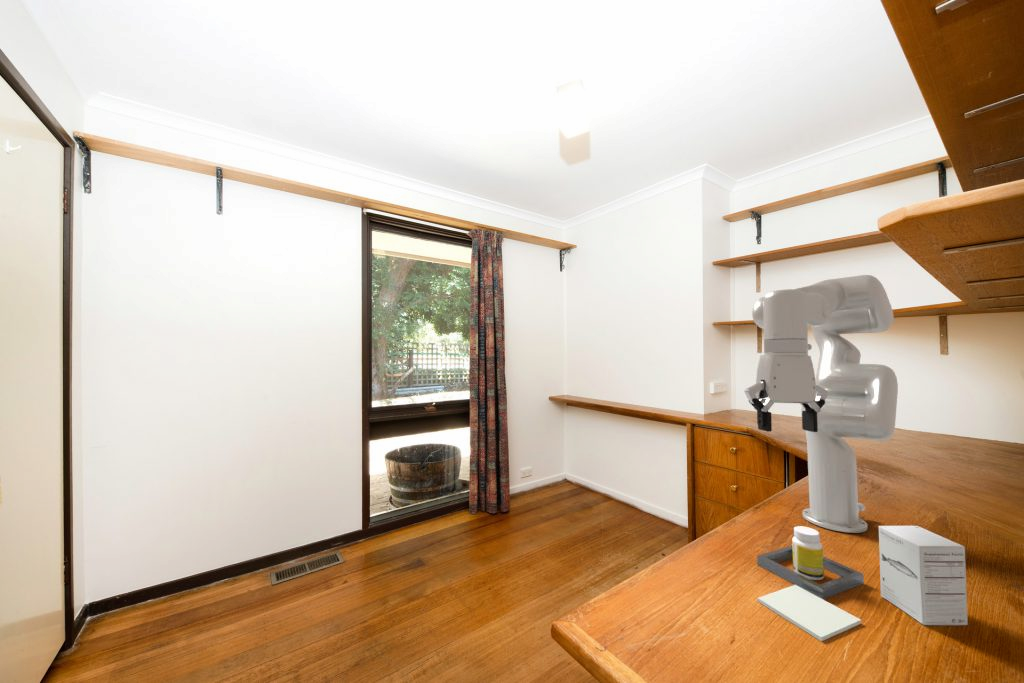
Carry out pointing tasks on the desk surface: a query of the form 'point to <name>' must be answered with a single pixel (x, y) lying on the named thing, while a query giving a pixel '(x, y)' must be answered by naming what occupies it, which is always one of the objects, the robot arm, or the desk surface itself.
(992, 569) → the desk surface
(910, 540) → the supplement box
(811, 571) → the supplement bottle
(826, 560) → the frame
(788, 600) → the mat
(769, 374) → the robot arm
